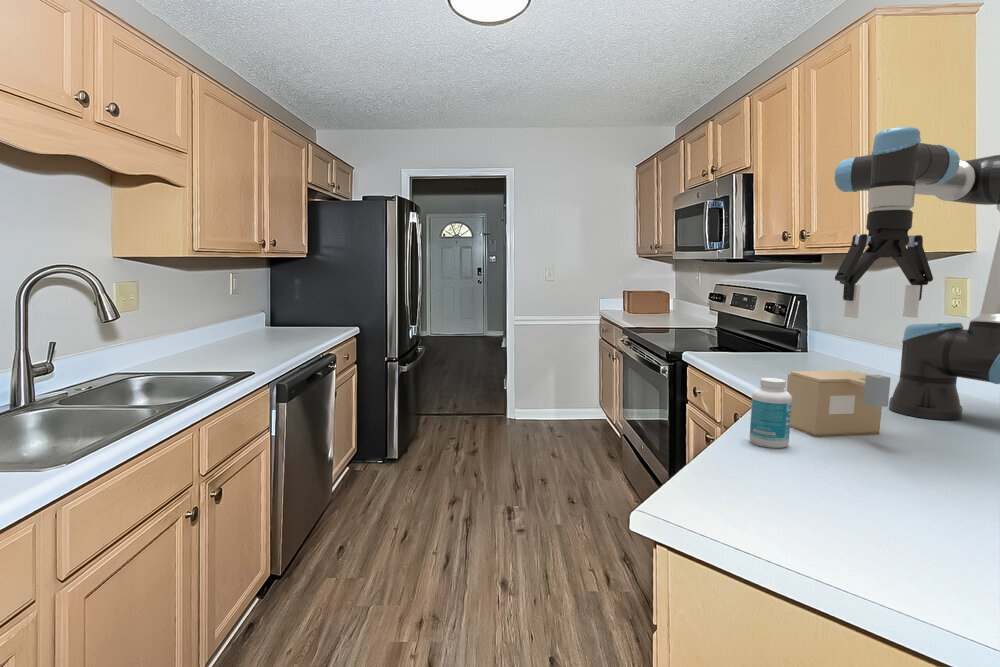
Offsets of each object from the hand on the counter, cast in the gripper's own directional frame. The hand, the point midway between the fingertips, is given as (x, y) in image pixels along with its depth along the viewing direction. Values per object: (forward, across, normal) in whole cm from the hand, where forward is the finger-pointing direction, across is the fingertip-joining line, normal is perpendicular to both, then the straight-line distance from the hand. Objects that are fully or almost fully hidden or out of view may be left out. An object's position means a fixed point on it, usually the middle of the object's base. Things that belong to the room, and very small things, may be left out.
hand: (880, 317), depth 117 cm
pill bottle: (+27, +21, -3) cm, 34 cm away
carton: (+26, 0, -11) cm, 29 cm away
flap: (+18, 0, -7) cm, 19 cm away
